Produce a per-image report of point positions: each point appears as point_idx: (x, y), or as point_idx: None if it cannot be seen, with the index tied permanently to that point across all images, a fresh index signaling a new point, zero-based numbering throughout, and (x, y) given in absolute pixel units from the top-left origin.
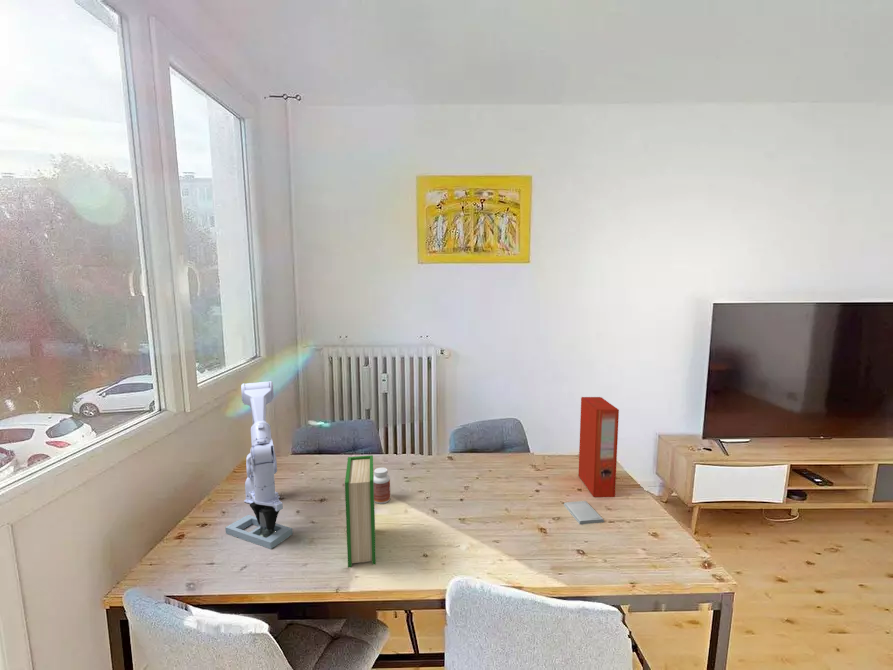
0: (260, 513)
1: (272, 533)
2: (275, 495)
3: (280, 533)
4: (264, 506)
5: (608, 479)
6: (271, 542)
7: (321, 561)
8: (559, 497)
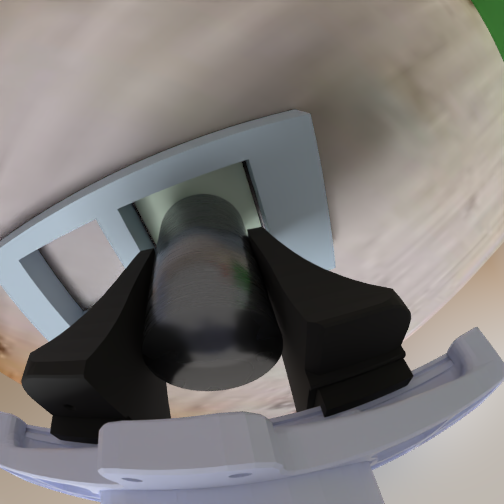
0: (227, 384)
1: (194, 192)
2: (315, 469)
3: (303, 196)
4: (133, 358)
5: None
6: (334, 261)
7: (493, 165)
8: None
